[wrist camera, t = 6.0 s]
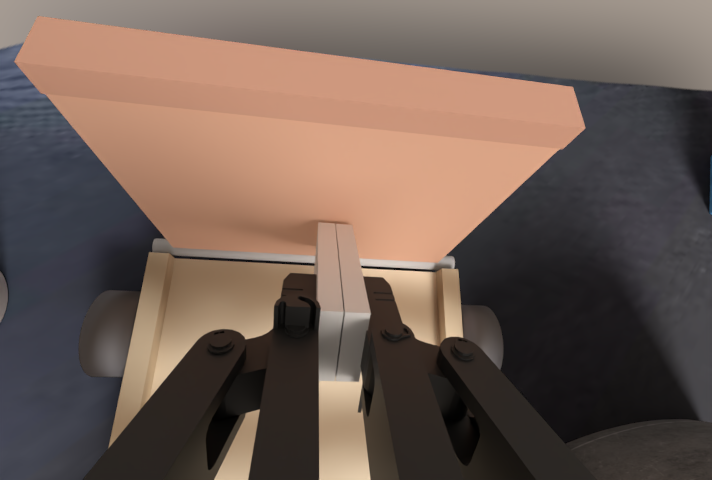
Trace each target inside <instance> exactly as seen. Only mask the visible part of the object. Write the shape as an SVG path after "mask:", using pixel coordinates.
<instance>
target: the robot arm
mask: <svg viewBox="0 0 712 480" xmlns="http://www.w3.org/2000/svg"><path fill="white" fill-rule="evenodd" d="M360 373H361V375H362V382H363V383H362V389H361V395H360V400H359V406H358V413H361V410H362V411H363V419H364V428H365V436H366V445H367V453H368V462H369V471H370V479H371V480H597V479H596V478H595V477H594V476H593V475H592V474H591V473H590V471H589V470H588V469H587V468H586V467H585V466H584V465H583V463H582V462H581V461H580V460H579V459H578V458H577V457H576V456H575V454H574V453H573V452H572V451H571V450H570V449H569V448H568V446H567V445H566V444H565V443H564V442H563V441H562V440H561V439H560V437H559V436H558V435H557V434H556V433H555V432H554V431H553V429H552V428H551V427H550V426H549V425H548V424H547V423H546V422H545V420H544V419H543V418H542V417H541V416H540V415H539V414H538V412H537V411H536V410H535V409H534V408H533V407H532V406H531V405H530V403H529V402H528V401H527V400H526V399H525V398H524V397H523V395H522V394H521V393H520V392H519V391H518V390H517V389H516V388H515V386H514V385H513V384H512V383H511V382H510V381H509V380H508V378H507V377H506V376H505V375H504V374H503V373H502V372H501V371H500V369H499V368H498V367H497V366H496V365H495V364H494V363H493V361H492V360H491V359H490V358H489V357H488V356H487V355H486V354H485V352H484V351H483V350H482V349H481V348H480V347H479V346H478V345H476V344H475V343H474V342H472V341H470V340H468V339H465V338H461V337H448V338H445V339H444V340H443V341H442V342H441V344H440V346H437V345H433V344H429V343H426V342H423V341H420V340H418V339H416V338H415V335H414V333H413V332H412V330H411V329H410V328H409V327H408V326H407V325H405V324H403V323H402V320H401V316H400V313H399V310H398V307H397V304H396V301H395V298H394V295H393V292H392V289H391V286H390V284H389V283H388V282H387V281H386V280H385V279H384V278H383V277H368V276H363V274H362V269H361V264H360V259H359V255H358V250H357V245H356V240H355V235H354V231H353V226H352V225H347V224H336V226H335V223H322V222H318V231H317V243H316V254H315V266H314V274H303V273H290V274H289V275H288V276H287V277H286V278H285V279H284V280H283V286H282V292H281V298H280V299H278V300H277V301H276V303H275V305H274V320H273V329H272V330H270V331H269V332H268V333H266V334H264V335H262V336H258V337H255V338H250V339H245V337H244V336H243V335H242V334H241V333H240V332H237V331H235V330H232V329H219V330H214V331H211V332H209V333H206V334H204V335H203V336H202V337H201V338H199V339H198V340H197V341H196V342H195V344H194V345H193V346H192V347H191V349H190V350H189V351H188V352H187V353H186V355H185V356H184V357H183V358H182V359H181V361H180V362H179V363H178V364H177V366H176V367H175V368H174V369H173V370H172V372H171V373H170V374H169V375H168V377H167V378H166V379H165V380H164V381H163V383H162V384H161V385H160V386H159V387H158V389H157V390H156V391H155V392H154V394H153V395H152V396H151V397H150V398H149V400H148V401H147V402H146V403H145V404H144V406H143V407H142V408H141V409H140V411H139V412H138V413H137V414H136V415H135V417H134V418H133V419H132V420H131V422H130V423H129V424H128V425H127V426H126V428H125V429H124V430H123V431H122V432H121V434H120V435H119V436H118V437H117V439H116V440H115V441H114V442H113V443H112V445H111V446H110V447H109V448H108V449H107V451H106V452H105V453H104V454H103V456H102V457H101V458H100V459H99V460H98V462H97V463H96V464H95V465H94V467H93V468H92V469H91V470H90V471H89V473H88V474H87V475H86V476H85V477H84V479H83V480H214V479H215V477H216V475H217V473H218V471H219V469H220V467H221V465H222V463H223V461H224V459H225V457H226V455H227V453H228V451H229V449H230V447H231V445H232V443H233V441H234V439H235V436H236V434H237V432H238V430H239V428H240V426H241V424H242V422H243V420H244V418H245V415H246V413H248V412H252V411H256V410H259V409H260V411H259V417H258V423H257V429H256V435H255V441H254V448H253V454H252V460H251V466H250V472H249V478H248V480H319V381H335V377H336V381H343V382H359V379H360Z"/></svg>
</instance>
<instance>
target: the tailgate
mask: <svg viewBox="0 0 712 480" xmlns="http://www.w3.org/2000/svg"><path fill="white" fill-rule="evenodd" d="M14 62H15V63H16V64H17V66H18V67H19V68H20V69H21V70H22V71H23V73H24V74H25V75H26V76H27V77H28V79H29V80H30V81H31V82H32V83H33V84H34V86H35V87H36V88H37V89H38V90H39V92H40V93H41V94H46V95H47V97H48V98H49V99H50V100H51V102H52V103H53V104H54V105H55V106H56V108H57V109H58V110H59V111H60V112H61V114H62V115H63V116H64V117H65V118H66V120H67V121H68V122H69V123H70V124H71V126H72V127H73V128H74V129H75V130H76V132H77V133H78V134H79V135H80V136H81V138H82V139H83V140H84V141H85V142H86V144H87V145H88V146H89V147H90V148H91V150H92V151H93V152H94V153H95V154H96V156H97V157H98V158H99V159H100V160H101V162H102V163H103V164H104V165H105V166H106V168H107V169H108V170H109V171H110V172H111V174H112V175H113V176H114V177H115V178H116V180H117V181H118V182H119V183H120V184H121V186H122V187H123V188H124V189H125V190H126V192H127V193H128V194H129V195H130V196H131V198H132V199H133V200H134V201H135V202H136V204H137V205H138V206H139V207H140V208H141V210H142V211H143V212H144V213H145V214H146V216H147V217H148V218H149V219H150V220H151V222H152V223H153V224H154V225H155V226H156V228H157V229H158V230H159V231H160V232H161V234H162V235H163V236H164V237H165V238H166V239H159V238H156V239H154V241H153V245H152V251H153V252H155V253H170V254H171V255H172V256H191V257H209V258H227V259H246V260H264V261H282V262H300V263H315V254H316V243H317V231H318V222H322V223H335V226H336V224H347V225H352V226H353V231H354V235H355V240H356V245H357V250H358V255H359V259H360V264H361V266H374V267H392V268H410V269H428V270H440V269H442V268H444V269H454V266H455V260H454V257H453V256H446V255H447V254H448V253H449V252H450V251H451V250H452V249H453V248H454V247H455V246H456V245H457V244H459V243H460V242H461V241H462V240H463V239H464V238H465V237H466V236H467V235H468V234H469V233H470V232H471V231H472V230H473V229H475V228H476V227H477V226H478V225H479V224H480V223H481V222H482V221H483V220H484V219H485V218H486V217H487V216H488V215H489V214H491V213H492V212H493V211H494V210H495V209H496V208H497V207H498V206H499V205H500V204H501V203H502V202H503V201H504V200H506V199H507V198H508V197H509V196H510V195H511V194H512V193H513V192H514V191H515V190H516V189H517V188H518V187H519V186H520V185H522V184H523V183H524V182H525V181H526V180H527V179H528V178H529V177H530V176H531V175H532V174H533V173H534V172H535V171H536V170H538V169H539V168H540V167H541V166H542V165H543V164H544V163H545V162H546V161H547V160H548V159H549V158H550V157H551V156H552V155H554V154H555V153H556V152H557V151H558V150H559V149H563V148H564V147H566V146H567V145H568V144H569V143H570V142H571V141H572V140H573V139H574V138H575V137H576V136H577V135H579V134H580V133H581V132H582V131H583V130H584V129H585V125H584V122H583V119H582V115H581V112H580V109H579V105H578V102H577V99H576V96H575V92H574V89H573V87H569V86H562V85H554V84H547V83H539V82H531V81H524V80H516V79H509V78H501V77H494V76H486V75H479V74H471V73H464V72H456V71H448V70H441V69H433V68H426V67H418V66H411V65H403V64H396V63H388V62H381V61H373V60H366V59H358V58H350V57H343V56H335V55H328V54H320V53H313V52H305V51H298V50H290V49H283V48H275V47H267V46H260V45H252V44H245V43H237V42H230V41H222V40H215V39H207V38H200V37H192V36H184V35H177V34H169V33H162V32H154V31H147V30H139V29H131V28H123V27H117V26H109V25H101V24H94V23H86V22H79V21H71V20H64V19H56V18H49V17H41V16H38V17H37V19H36V21H35V23H34V25H33V27H32V28H31V30H30V32H29V34H28V36H27V38H26V40H25V42H24V44H23V46H22V48H21V50H20V52H19V54H18V55H17V57H16V59H15V61H14Z"/></svg>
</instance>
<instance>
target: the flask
mask: <svg viewBox="0 0 712 480" xmlns="http://www.w3.org/2000/svg"><path fill="white" fill-rule="evenodd" d="M566 445H567V446H568V448H569V449H570V450H571V451H572V452H573V453H574V454H575V456H576V457H577V458H578V459H579V460H580V461H581V462H582V463H583V465H584V466H585V467H586V468H587V469H588V470H589V471H590V473H591V474H592V475H593V476H594V477H595V478H596V479H597V480H712V423H710V422H703V421H696V420H689V419H664V420H652V421H644V422H637V423H632V424H627V425H622V426H618V427H614V428H610V429H606V430H603V431H599V432H596V433H593V434H590V435H587V436H584V437H581V438H578V439H576V440H573V441H571V442H568V443H566Z"/></svg>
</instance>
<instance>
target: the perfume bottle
mask: <svg viewBox="0 0 712 480" xmlns="http://www.w3.org/2000/svg"><path fill="white" fill-rule="evenodd" d="M709 214H711V215H712V155H711V156H710V212H709Z"/></svg>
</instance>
